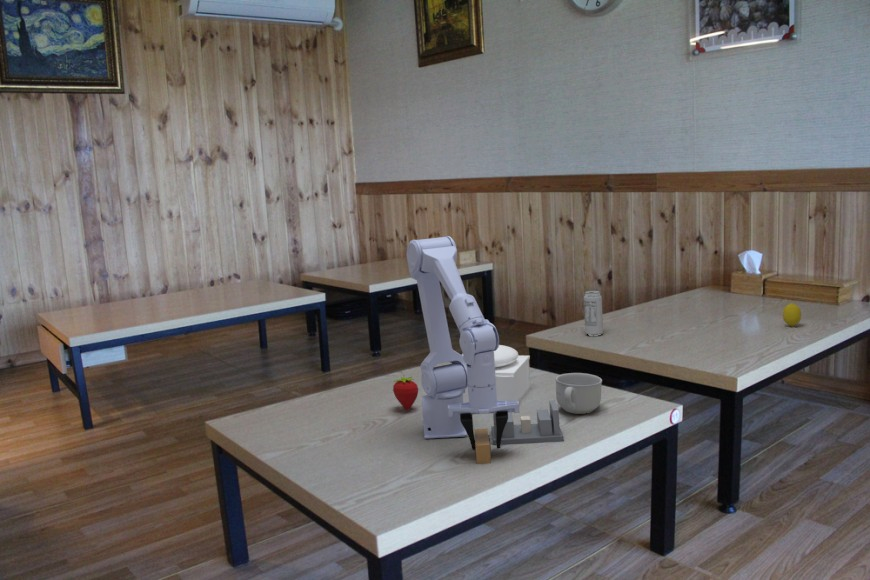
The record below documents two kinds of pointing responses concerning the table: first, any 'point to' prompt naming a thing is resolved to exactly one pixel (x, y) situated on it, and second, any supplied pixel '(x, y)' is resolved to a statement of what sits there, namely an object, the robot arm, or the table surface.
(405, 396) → the strawberry
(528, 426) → the display stand
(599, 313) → the energy drink can
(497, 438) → the robot arm
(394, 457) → the table surface
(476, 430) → the orange-brown rectangular block
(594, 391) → the teacup
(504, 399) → the butter dish
